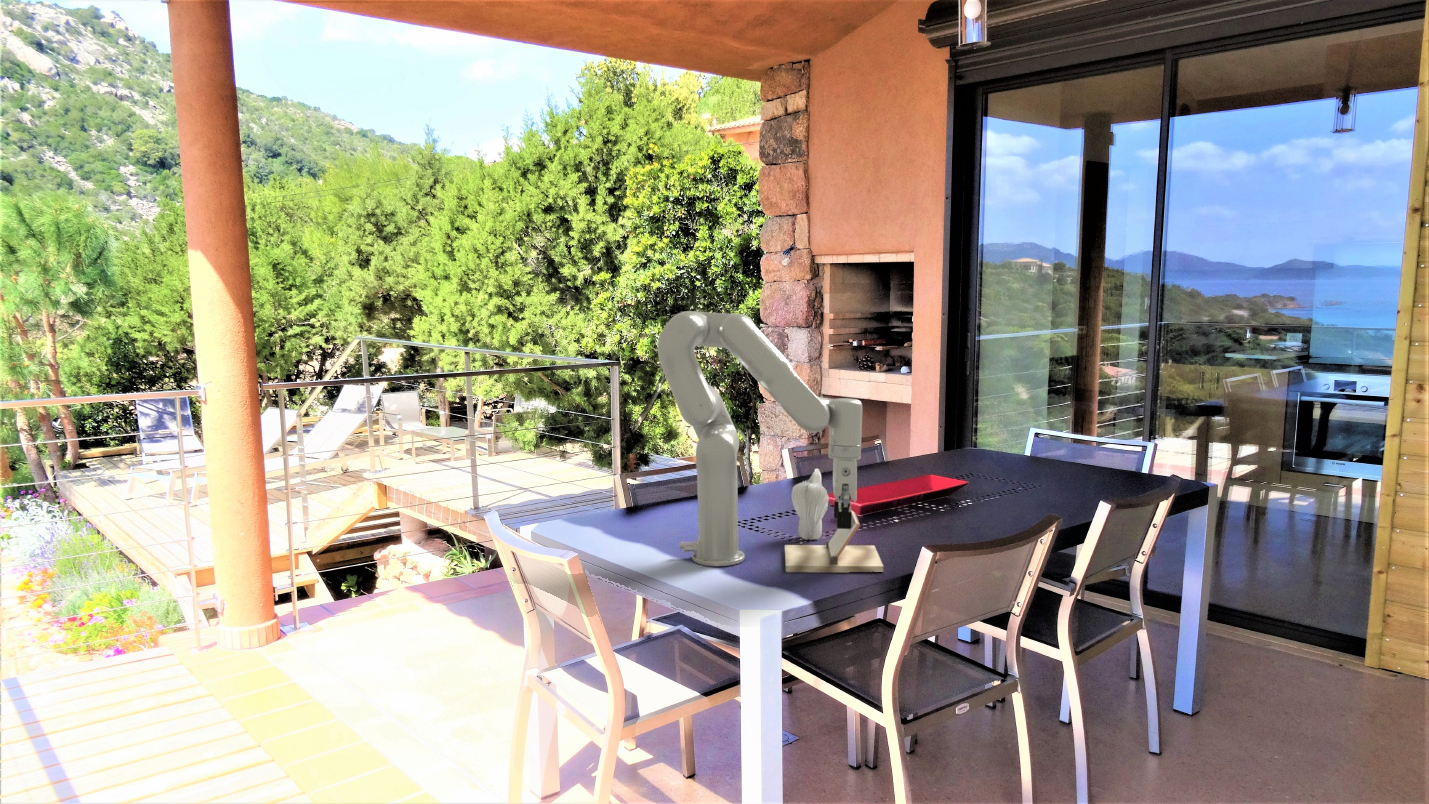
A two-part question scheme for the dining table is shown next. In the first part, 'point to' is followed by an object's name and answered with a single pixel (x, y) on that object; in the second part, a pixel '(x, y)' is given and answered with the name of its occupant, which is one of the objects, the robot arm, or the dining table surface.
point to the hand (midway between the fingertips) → (842, 523)
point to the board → (832, 559)
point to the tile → (843, 537)
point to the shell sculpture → (810, 506)
